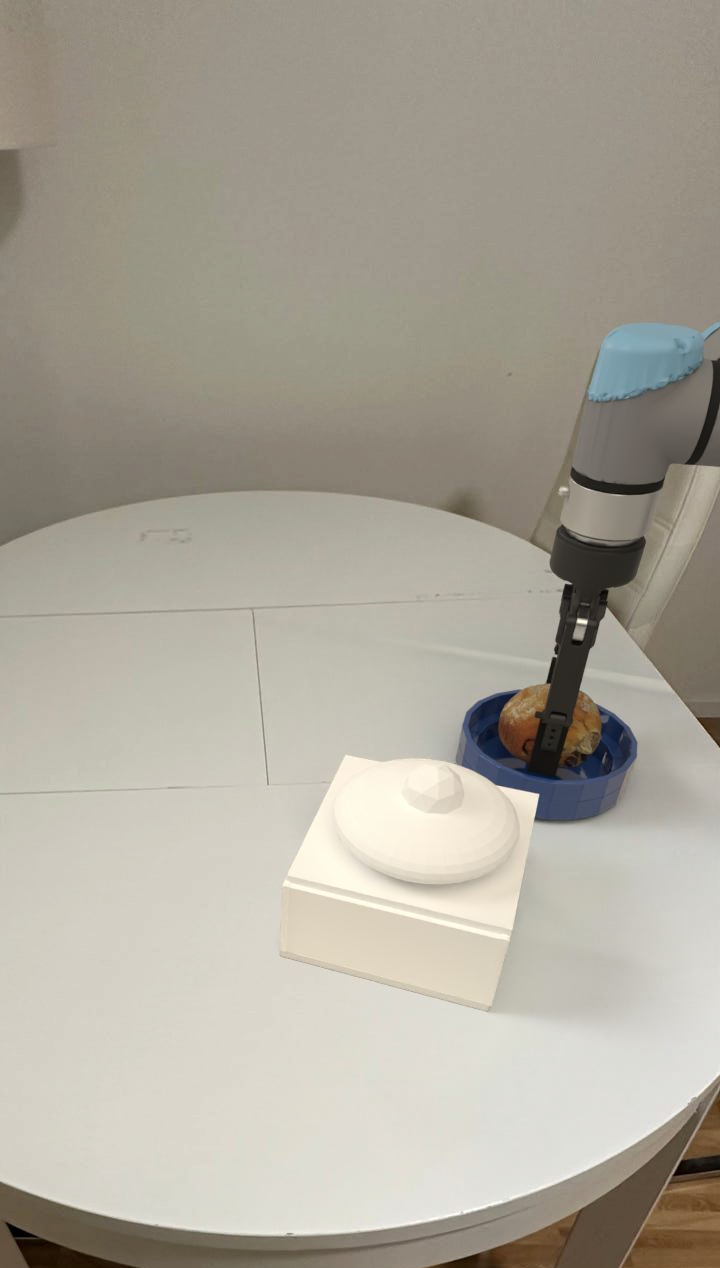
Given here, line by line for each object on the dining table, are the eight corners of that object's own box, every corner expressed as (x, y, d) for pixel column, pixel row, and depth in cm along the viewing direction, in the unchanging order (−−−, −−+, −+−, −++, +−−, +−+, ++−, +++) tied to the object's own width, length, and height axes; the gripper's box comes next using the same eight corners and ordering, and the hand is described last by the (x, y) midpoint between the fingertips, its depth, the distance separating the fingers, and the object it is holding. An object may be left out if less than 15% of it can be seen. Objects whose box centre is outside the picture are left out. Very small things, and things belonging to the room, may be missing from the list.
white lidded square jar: (279, 956, 77) (284, 808, 66) (337, 828, 90) (349, 687, 79) (489, 1012, 72) (531, 863, 62) (519, 869, 85) (557, 725, 74)
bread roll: (579, 755, 99) (588, 680, 96) (614, 772, 89) (624, 689, 86) (487, 753, 99) (493, 679, 97) (511, 771, 89) (519, 688, 87)
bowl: (626, 744, 100) (639, 705, 97) (620, 839, 88) (635, 798, 85) (469, 716, 105) (476, 678, 101) (443, 803, 92) (450, 763, 89)
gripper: (568, 481, 88) (522, 681, 103) (545, 577, 72) (494, 799, 87) (649, 490, 86) (591, 693, 101) (645, 590, 70) (576, 815, 85)
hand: (546, 742), depth 94 cm, fingers closed on bread roll, 10 cm apart
